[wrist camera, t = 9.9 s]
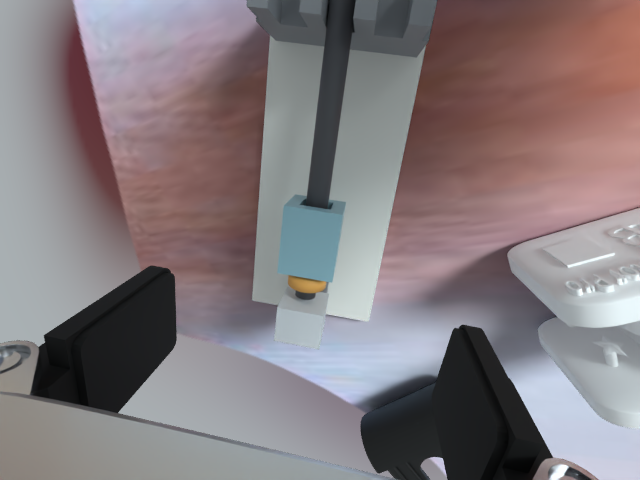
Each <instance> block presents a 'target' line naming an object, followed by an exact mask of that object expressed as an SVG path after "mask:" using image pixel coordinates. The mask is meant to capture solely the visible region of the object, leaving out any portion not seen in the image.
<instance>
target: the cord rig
mask: <svg viewBox="0 0 640 480" xmlns="http://www.w3.org/2000/svg"><path fill="white" fill-rule="evenodd" d="M436 4H437V0H247V7H248V8H249V9H250V10H251V11H252V12H253V13H254V14H255V15H256V16H257V18H256V22H257V23H258V24H259V25H260V26H261V27H262V28H263V29H264V30H265V31H266V32H267V33H268V34H270V43H269V58H268V72H267V87H266V102H265V117H264V131H263V146H262V161H261V176H260V190H259V205H258V220H257V234H256V249H255V264H254V279H253V293H252V301H257V302H262V303H268V304H273V305H278V307H277V315H276V325H275V335H274V341H277V342H282V343H287V344H293V345H298V346H303V347H308V348H313V349H319V348H320V343H321V338H322V333H323V329H324V324H325V317H326V314H328V315H333V316H339V317H344V318H350V319H355V320H361V321H366V322H369V318H370V313H371V308H372V303H373V299H374V294H375V289H376V284H377V279H378V274H379V270H380V265H381V260H382V255H383V250H384V246H385V241H386V236H387V231H388V226H389V221H390V217H391V212H392V207H393V202H394V197H395V193H396V188H397V183H398V178H399V173H400V168H401V164H402V159H403V154H404V149H405V144H406V140H407V135H408V130H409V125H410V120H411V115H412V111H413V106H414V101H415V96H416V91H417V87H418V82H419V77H420V72H421V67H422V62H423V58H424V53H425V48H426V44H427V43H428V42H429V37H430V32H431V28H432V23H433V18H434V13H435V8H436ZM295 194H296V195H303V196H307V199H306V206H310V207H317V208H323V209H328V203H329V200H335V201H342V202H346V206H345V212H344V219H343V225H342V231H341V238H340V244H339V250H338V257H337V262H336V267H335V272H334V277H333V281H332V283H331V282H325V281H320V280H314V279H308V278H303V277H297V276H291V275H285V274H280V273H277V271H278V260H279V250H280V239H281V228H282V218H283V207H284V205H285V204H286V203H287V202H288V201H289V200H290V199H291V198H292V197H293V196H294V195H295Z"/></svg>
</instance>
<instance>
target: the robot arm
mask: <svg viewBox="0 0 640 480" xmlns="http://www.w3.org/2000/svg"><path fill="white" fill-rule="evenodd" d="M44 338H45V343H44V344H42V345H41V346H40V347H38V346H37V345H36V344H35V343H33V342H29V341H20V340H17V341H8V342H4V343H0V480H398V479H393V478H389V477H385V476H381V475H377V474H373V473H368V472H365V471H360V470H356V469H352V468H348V467H344V466H340V465H336V464H331V463H327V462H323V461H319V460H315V459H311V458H307V457H303V456H299V455H294V454H290V453H286V452H282V451H278V450H273V449H269V448H265V447H261V446H256V445H252V444H248V443H244V442H240V441H235V440H231V439H227V438H223V437H218V436H214V435H210V434H205V433H201V432H197V431H193V430H188V429H184V428H180V427H175V426H171V425H167V424H162V423H158V422H153V421H149V420H145V419H141V418H136V417H131V416H127V415H123V414H119V413H118V412H119V411H120V410H121V408H122V407H123V406H124V405H125V404H126V403H127V402H128V400H129V399H130V398H131V397H132V396H133V395H134V394H135V392H136V391H137V390H138V389H139V388H140V386H141V385H142V384H143V383H144V382H145V381H146V380H147V378H148V377H149V376H150V375H151V374H152V373H153V372H154V370H155V369H156V368H157V367H158V366H159V365H160V364H161V362H162V361H163V360H164V359H165V358H166V357H167V356H168V354H169V353H170V352H171V351H172V350H173V348H174V346H175V344H176V303H175V277H174V275H173V274H171V272H170V270H169V269H167V268H162V267H157V266H149V267H148V268H146V269H145V270H143V271H141V272H140V273H139V274H137V275H136V276H134V277H132V278H131V279H129V280H128V281H126V282H125V283H123V284H122V285H120V286H119V287H117V288H115V289H114V290H112V291H111V292H109V293H108V294H106V295H105V296H103V297H102V298H100V299H99V300H97V301H96V302H94V303H93V304H91V305H89V306H88V307H87V308H85V309H83V310H82V311H80V312H79V313H77V314H76V315H74V316H73V317H71V318H70V319H68V320H67V321H65V322H64V323H62V324H60V325H59V326H57V327H56V328H54V329H53V330H51V331H50V332H48V333H47V334H45V335H44ZM432 408H433V413H434V418H435V422H436V427H437V432H438V437H439V441H440V446H441V451H442V455H443V460H444V465H445V470H446V474H447V479H448V480H598V479H597V478H596V477H595V476H593V475H592V474H591V473H589V472H588V471H587V470H585V469H583V468H582V467H580V466H578V465H576V464H575V463H572V462H569V461H567V460H564V459H559V458H553V457H552V455H551V453H550V451H549V449H548V447H547V445H546V444H545V442H544V440H543V438H542V436H541V434H540V432H539V431H538V429H537V427H536V425H535V423H534V421H533V419H532V418H531V416H530V414H529V412H528V410H527V408H526V406H525V405H524V403H523V401H522V399H521V397H520V395H519V393H518V392H517V390H516V388H515V386H514V384H513V382H512V381H511V380H510V379H509V378H508V376H507V375H506V373H505V371H504V369H503V367H502V365H501V363H500V361H499V360H498V358H497V356H496V354H495V352H494V350H493V348H492V346H491V345H490V343H489V341H488V339H487V337H486V335H485V333H484V331H483V330H482V329H481V328H477V327H472V326H467V325H461V326H460V327H459V329H458V328H454V329H453V331H452V334H451V337H450V340H449V343H448V347H447V350H446V353H445V356H444V359H443V362H442V365H441V368H440V371H439V374H438V377H437V380H436V383H435V387H434V390H433V393H432Z"/></svg>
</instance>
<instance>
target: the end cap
mask: <svg viewBox="0 0 640 480" xmlns="http://www.w3.org/2000/svg"><path fill="white" fill-rule="evenodd" d="M434 387H435V383H433V384H431V385H429V386H427V387H424V388H422V389H420V390H418V391H416V392H413V393H411V394H409V395H407V396H405V397H402V398H400V399H398V400H396V401H394V402H391V403H389V404H387V405H385V406H383V407H380V408H378V409H376V410H374V411H372V412H369V413H367V414H365V415H364V416H363V417H362V420H361V436H362V440H363V445H364V448H365V451H366V454H367V456H368V458H369V460H370V462H371V464H372V466H373V467H374V469H375V470H376V472H377V473H381V472H384V471H387V470H388V471H389V472H390V474H391V475H392V476H393V477H394V478H395V479H398V480H430V478H429V477H428V476H427V475H426V473H425V472H424V471H423V470H422V469H421V467H420V465H421V463H422V462H423V461H424V460H425V459H427V458H430V457H440V458H443V455H442V451H441V446H440V441H439V437H438V432H437V427H436V422H435V418H434V413H433V408H432V393H433V390H434Z"/></svg>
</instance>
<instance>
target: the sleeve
mask: <svg viewBox="0 0 640 480" xmlns="http://www.w3.org/2000/svg"><path fill="white" fill-rule="evenodd" d="M306 199H307V196H303V195H296V194H295V195H294V196H293V197H292V198H291V199H290V200H289V201H288V202H287V203H286V204H285V205H284V207H283V218H282V228H281V239H280V250H279V260H278V271H277V273H280V274H285V275H291V276H297V277H303V278H308V279H314V280H320V281H325V282H331V283H332V281H333V277H334V272H335V267H336V262H337V257H338V250H339V244H340V238H341V231H342V225H343V219H344V212H345V206H346V202H342V201H335V200H329V203H328V209H323V208H317V207H310V206H306Z"/></svg>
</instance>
